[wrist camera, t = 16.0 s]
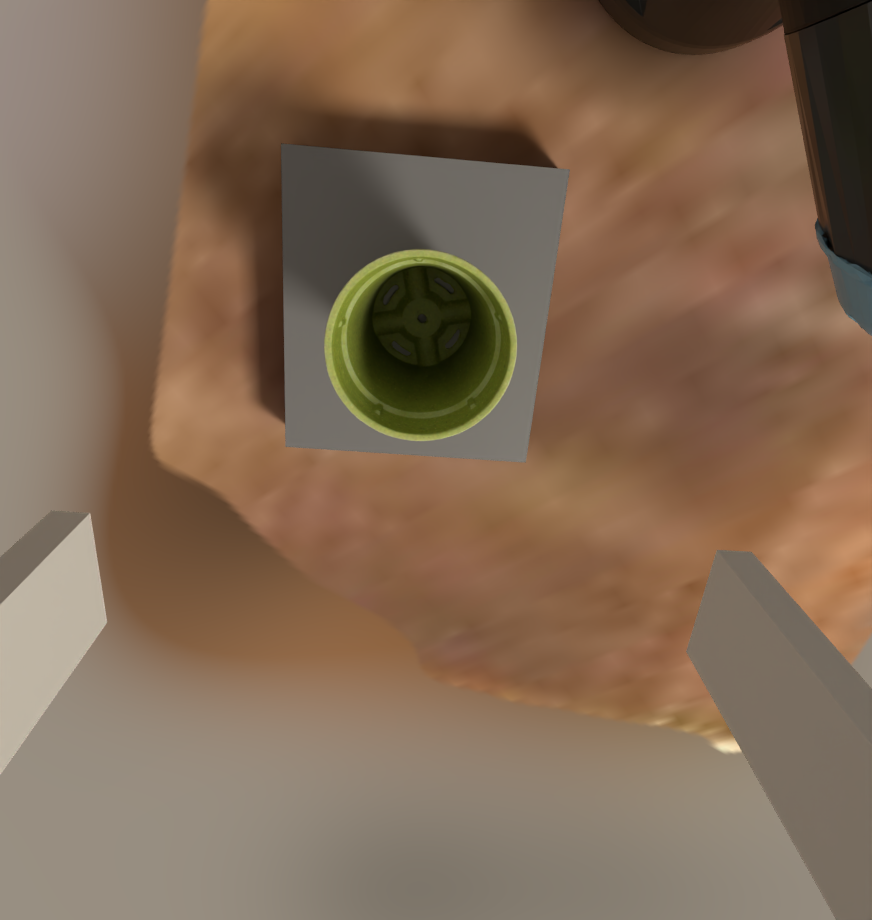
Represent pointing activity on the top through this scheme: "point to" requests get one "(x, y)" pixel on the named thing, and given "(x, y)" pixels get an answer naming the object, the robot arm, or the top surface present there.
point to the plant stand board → (375, 235)
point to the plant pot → (420, 345)
